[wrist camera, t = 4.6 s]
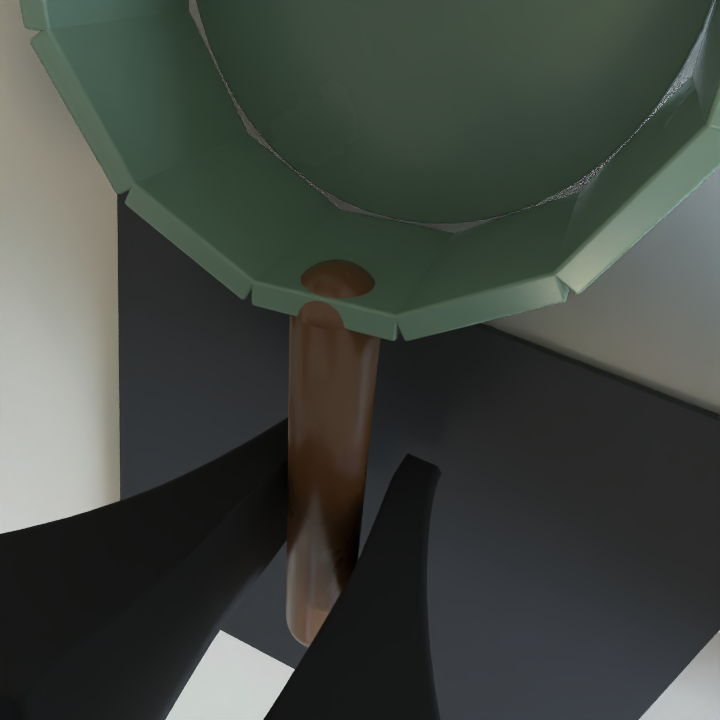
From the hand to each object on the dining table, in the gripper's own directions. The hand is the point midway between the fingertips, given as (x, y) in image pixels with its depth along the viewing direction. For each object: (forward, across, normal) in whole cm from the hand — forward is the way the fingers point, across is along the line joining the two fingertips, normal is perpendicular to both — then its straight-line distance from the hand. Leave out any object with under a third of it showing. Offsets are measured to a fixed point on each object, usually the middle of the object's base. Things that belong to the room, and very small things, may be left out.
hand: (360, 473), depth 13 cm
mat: (+2, 0, +4) cm, 4 cm away
